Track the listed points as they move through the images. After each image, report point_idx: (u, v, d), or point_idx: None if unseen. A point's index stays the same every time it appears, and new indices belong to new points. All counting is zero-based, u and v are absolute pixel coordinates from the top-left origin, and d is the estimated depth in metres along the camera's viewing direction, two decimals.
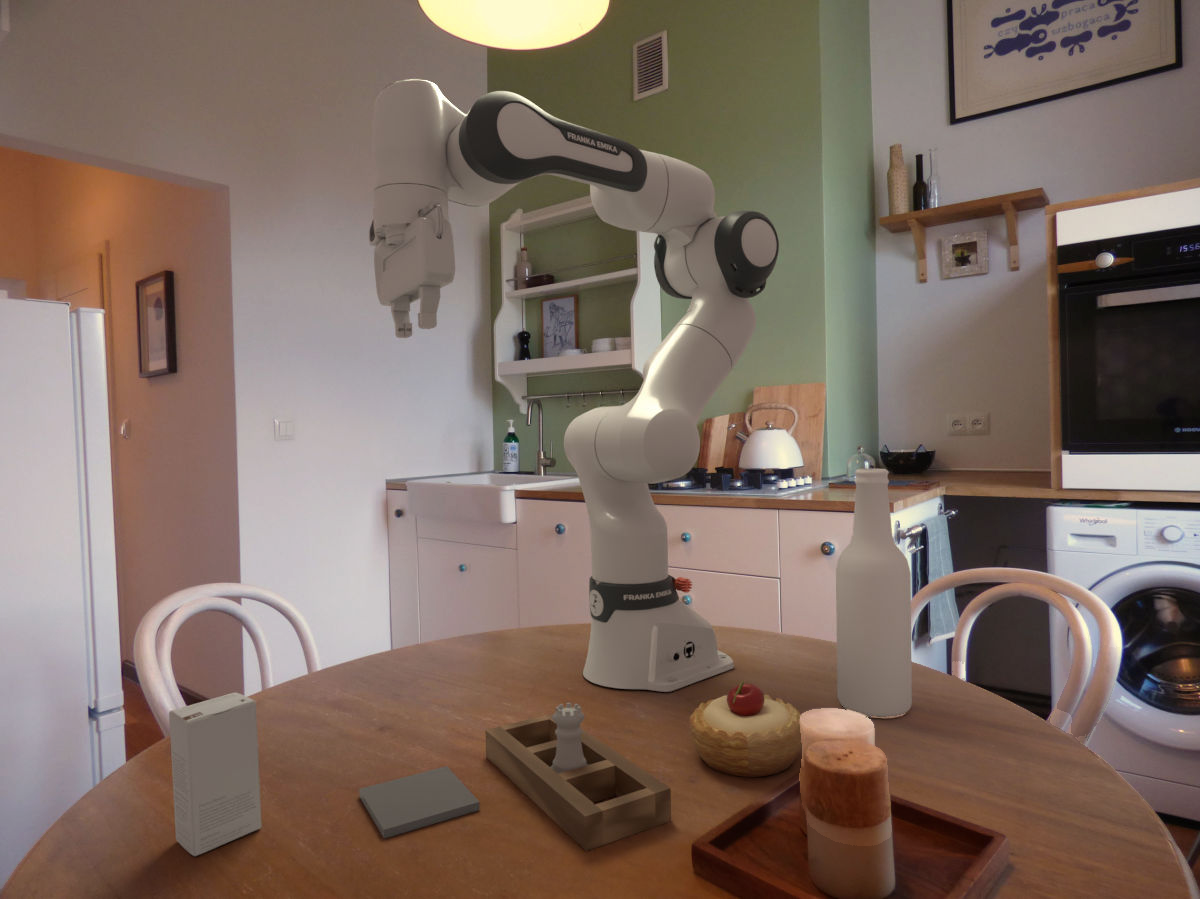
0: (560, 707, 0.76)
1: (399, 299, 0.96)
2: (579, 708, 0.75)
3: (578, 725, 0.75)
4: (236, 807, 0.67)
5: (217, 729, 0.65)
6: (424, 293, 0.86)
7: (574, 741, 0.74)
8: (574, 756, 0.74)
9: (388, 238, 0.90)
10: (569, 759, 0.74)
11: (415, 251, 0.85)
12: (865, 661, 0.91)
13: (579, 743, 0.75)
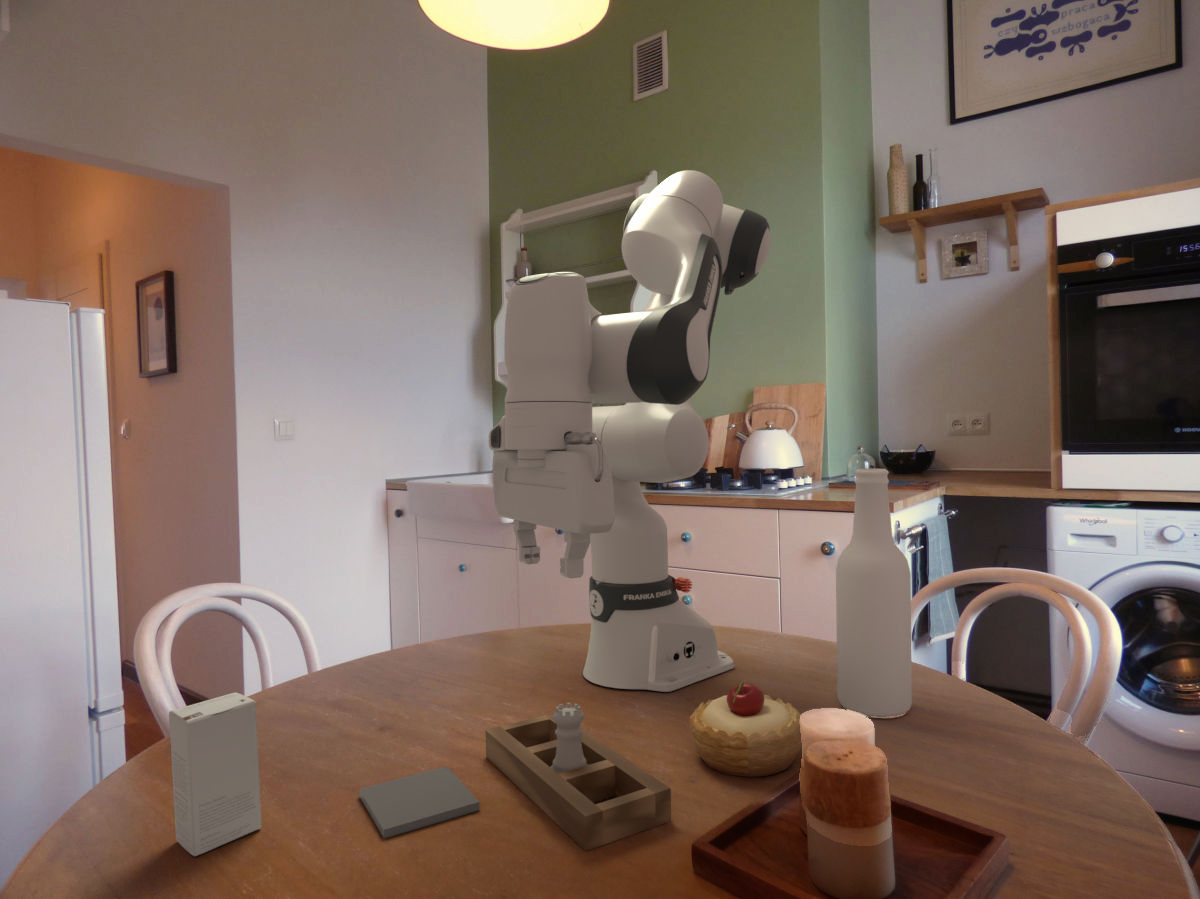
0: (560, 707, 0.76)
1: None
2: (579, 708, 0.75)
3: (578, 725, 0.75)
4: (236, 807, 0.67)
5: (217, 729, 0.65)
6: (572, 540, 0.70)
7: (574, 741, 0.74)
8: (574, 756, 0.74)
9: (523, 460, 0.74)
10: (569, 759, 0.74)
11: (564, 491, 0.69)
12: (865, 661, 0.91)
13: (579, 743, 0.75)
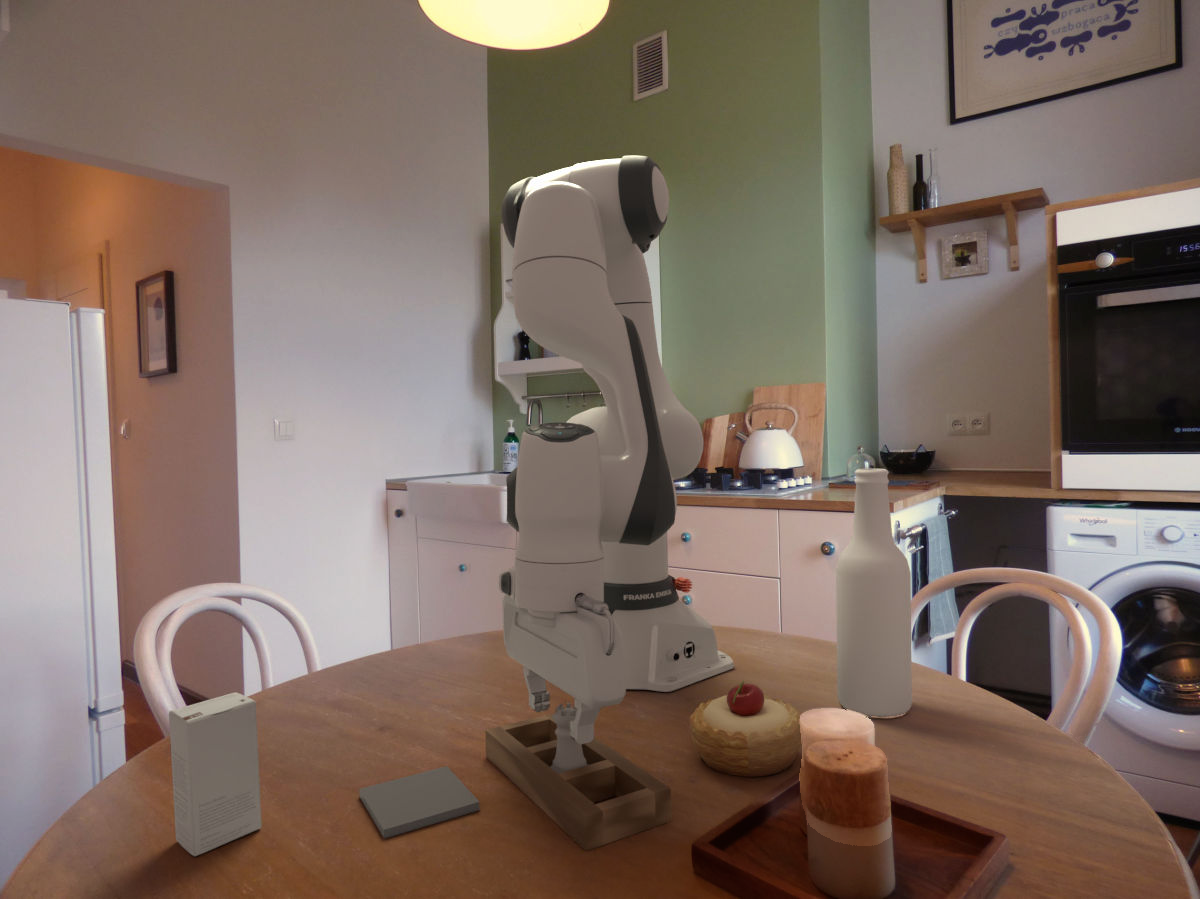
0: (560, 707, 0.76)
1: None
2: None
3: None
4: (236, 807, 0.67)
5: (217, 729, 0.65)
6: (583, 708, 0.69)
7: (574, 741, 0.74)
8: (574, 756, 0.74)
9: (533, 618, 0.73)
10: (569, 759, 0.74)
11: (574, 660, 0.68)
12: (865, 661, 0.91)
13: None
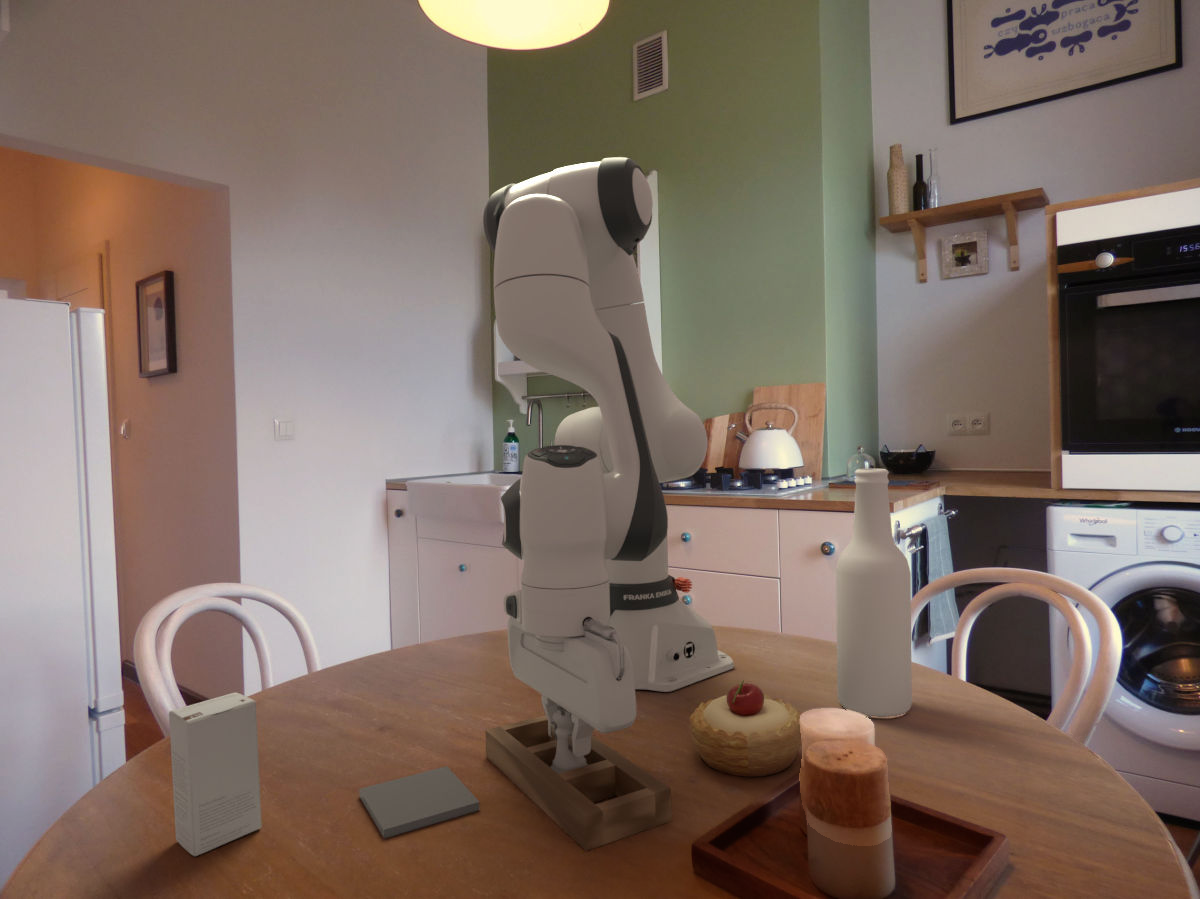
0: (560, 707, 0.76)
1: None
2: None
3: None
4: (236, 807, 0.67)
5: (217, 729, 0.65)
6: (580, 723, 0.72)
7: None
8: (574, 756, 0.74)
9: (541, 642, 0.73)
10: (569, 759, 0.74)
11: (584, 685, 0.69)
12: (865, 661, 0.91)
13: None
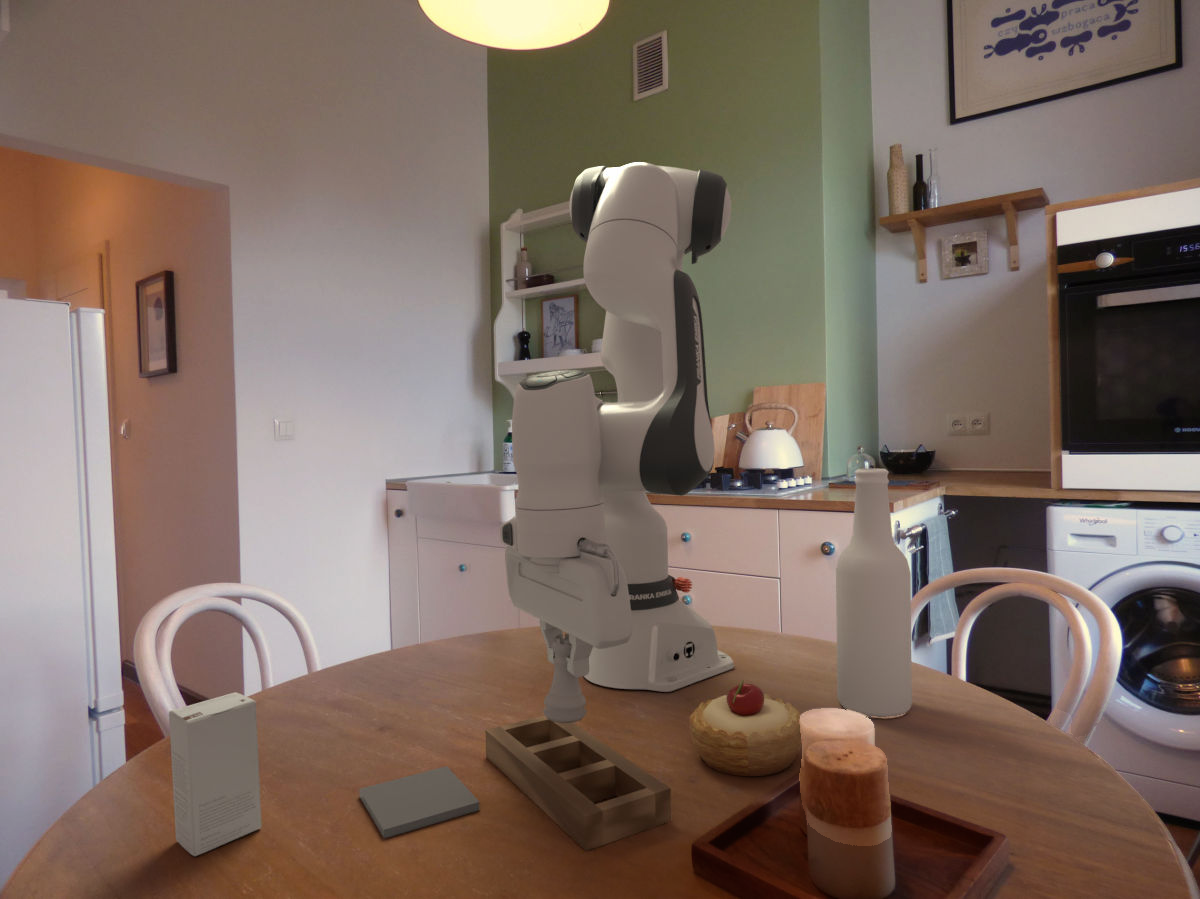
0: (559, 637, 0.76)
1: None
2: None
3: None
4: (236, 807, 0.67)
5: (217, 729, 0.65)
6: (577, 643, 0.72)
7: None
8: (571, 685, 0.75)
9: (537, 565, 0.73)
10: (566, 687, 0.75)
11: (580, 603, 0.69)
12: (865, 661, 0.91)
13: None
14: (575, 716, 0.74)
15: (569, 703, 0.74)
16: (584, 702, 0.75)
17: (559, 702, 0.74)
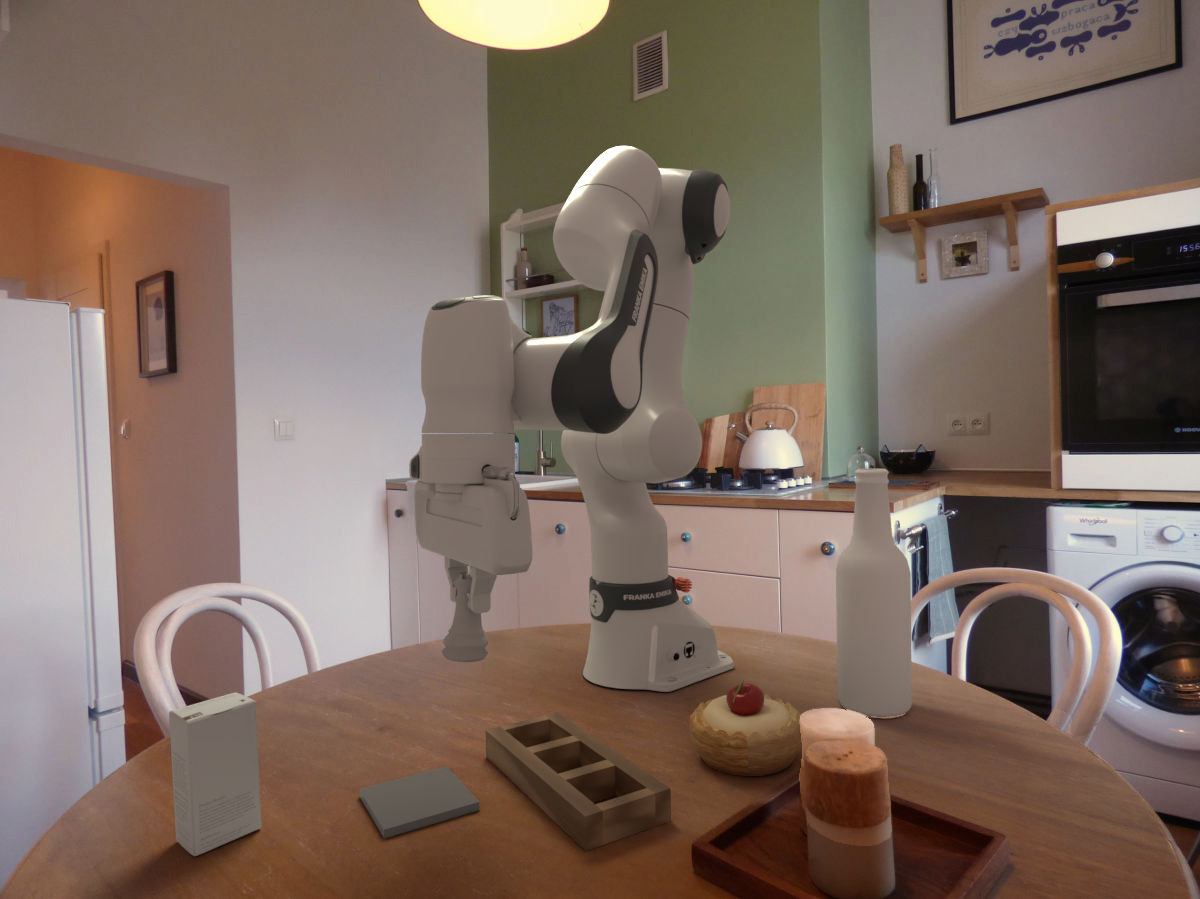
0: (462, 574, 0.73)
1: None
2: None
3: None
4: (236, 807, 0.67)
5: (217, 729, 0.65)
6: (477, 576, 0.69)
7: None
8: (472, 622, 0.71)
9: (440, 494, 0.70)
10: (466, 625, 0.71)
11: (479, 529, 0.66)
12: (865, 661, 0.91)
13: None
14: (474, 655, 0.71)
15: (469, 641, 0.71)
16: (486, 642, 0.72)
17: (457, 639, 0.71)
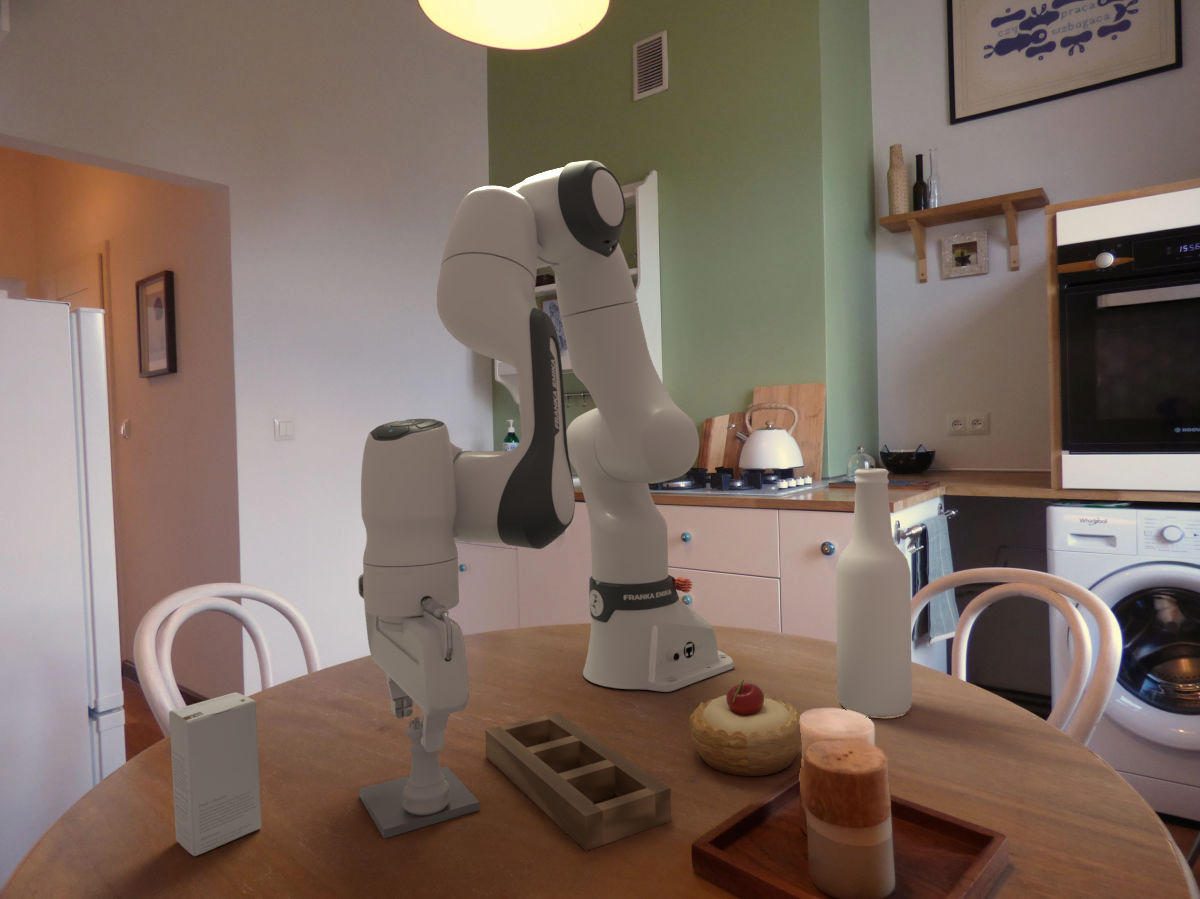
0: (415, 721, 0.71)
1: None
2: None
3: None
4: (236, 807, 0.67)
5: (217, 729, 0.65)
6: (428, 716, 0.66)
7: (429, 757, 0.69)
8: (429, 772, 0.69)
9: (382, 623, 0.70)
10: (424, 776, 0.69)
11: (417, 666, 0.66)
12: (865, 661, 0.91)
13: (435, 758, 0.70)
14: (435, 807, 0.69)
15: (428, 794, 0.69)
16: (446, 790, 0.70)
17: (416, 793, 0.69)
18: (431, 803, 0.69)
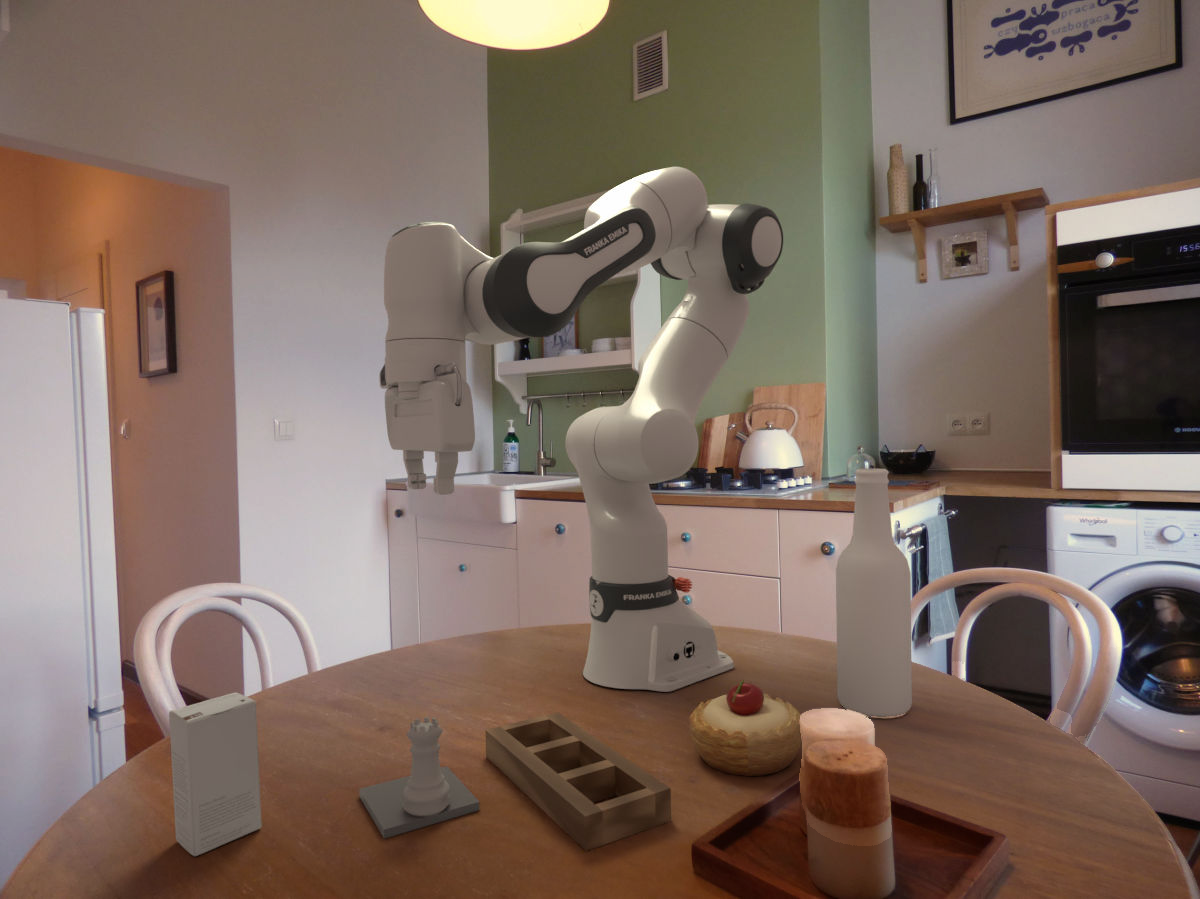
0: (416, 722, 0.71)
1: None
2: (436, 723, 0.70)
3: (434, 741, 0.70)
4: (236, 807, 0.67)
5: (217, 729, 0.65)
6: (441, 460, 0.79)
7: (430, 759, 0.69)
8: (430, 774, 0.69)
9: (401, 393, 0.83)
10: (424, 778, 0.69)
11: (431, 416, 0.78)
12: (865, 661, 0.91)
13: (436, 760, 0.70)
14: (435, 809, 0.69)
15: (428, 796, 0.69)
16: (447, 791, 0.70)
17: (416, 795, 0.69)
18: (431, 805, 0.69)
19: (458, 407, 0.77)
